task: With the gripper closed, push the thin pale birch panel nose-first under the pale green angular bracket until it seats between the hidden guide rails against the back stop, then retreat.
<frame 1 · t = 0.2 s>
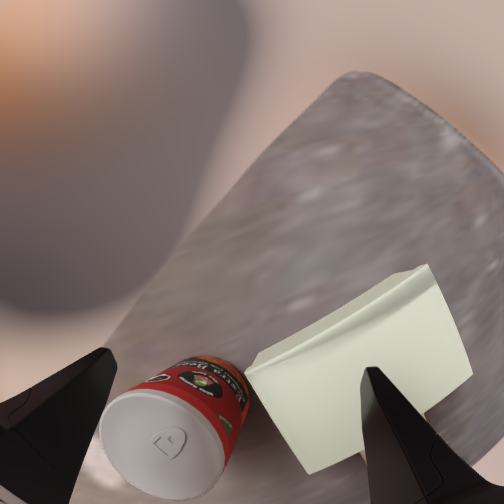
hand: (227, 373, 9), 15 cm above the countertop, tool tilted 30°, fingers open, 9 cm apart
canned food: (207, 394, 24), on the countertop
pale green angular bracket: (348, 351, 22), on the countertop
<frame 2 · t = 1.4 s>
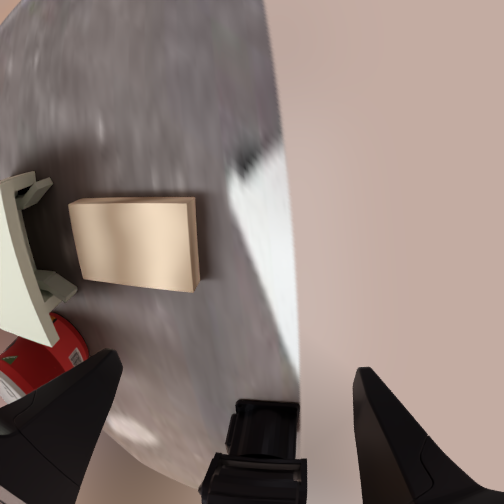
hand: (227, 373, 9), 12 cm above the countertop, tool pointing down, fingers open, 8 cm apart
panel: (138, 235, 22), on the countertop
canned food: (65, 337, 28), on the countertop
pale green angular bracket: (41, 238, 23), on the countertop
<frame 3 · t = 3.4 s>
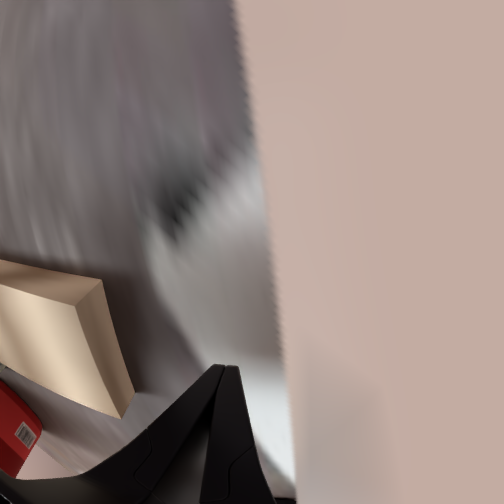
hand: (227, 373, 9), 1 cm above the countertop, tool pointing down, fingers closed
panel: (45, 316, 12), on the countertop
canned food: (15, 401, 18), on the countertop
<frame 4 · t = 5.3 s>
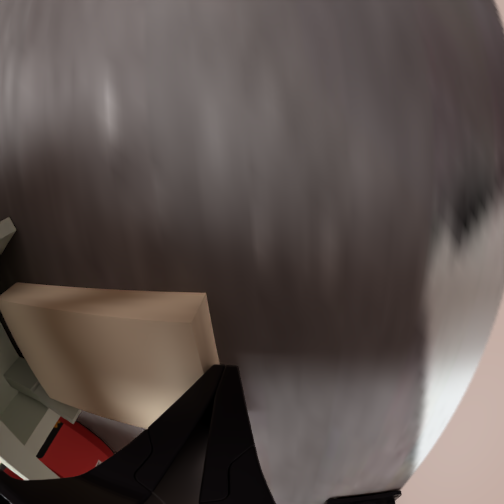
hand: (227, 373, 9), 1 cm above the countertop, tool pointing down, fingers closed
panel: (115, 343, 12), on the countertop
canned food: (77, 433, 17), on the countertop
pale green angular bracket: (15, 318, 12), on the countertop
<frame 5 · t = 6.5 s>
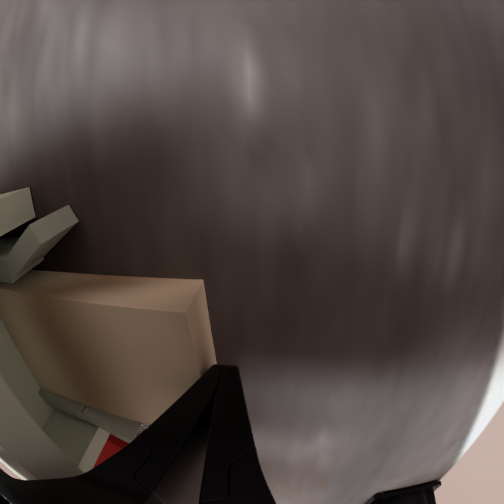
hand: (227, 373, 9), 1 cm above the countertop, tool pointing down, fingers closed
panel: (108, 333, 11), on the countertop
canned food: (115, 446, 17), on the countertop
pale green angular bracket: (58, 327, 11), on the countertop
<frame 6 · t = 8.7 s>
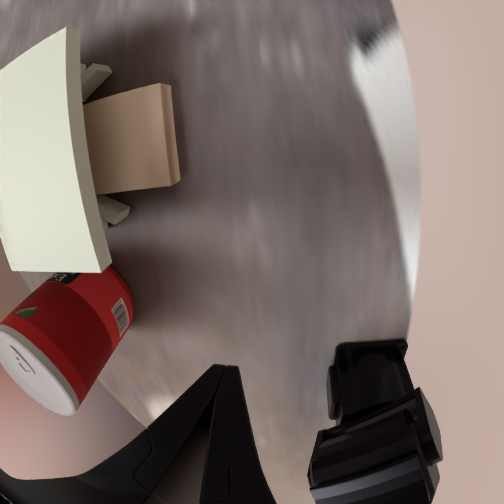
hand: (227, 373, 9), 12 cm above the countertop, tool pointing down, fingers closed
panel: (114, 143, 18), on the countertop
canned food: (101, 292, 24), on the countertop
pale green angular bracket: (83, 148, 18), on the countertop
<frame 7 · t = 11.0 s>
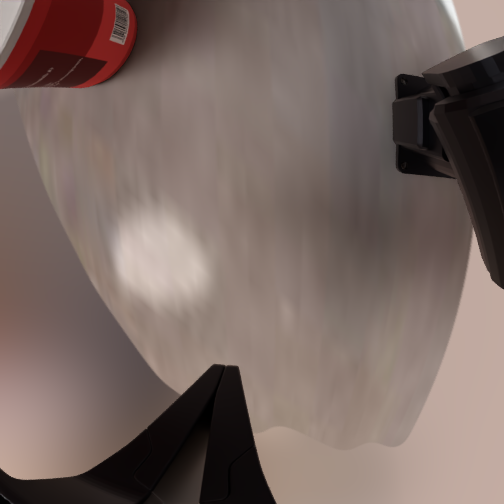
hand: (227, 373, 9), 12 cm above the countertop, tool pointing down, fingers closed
canned food: (98, 41, 15), on the countertop
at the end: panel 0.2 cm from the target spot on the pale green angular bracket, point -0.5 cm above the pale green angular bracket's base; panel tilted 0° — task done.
